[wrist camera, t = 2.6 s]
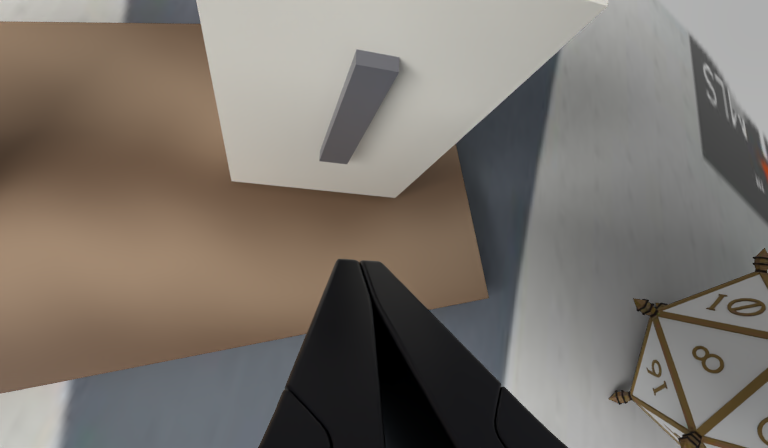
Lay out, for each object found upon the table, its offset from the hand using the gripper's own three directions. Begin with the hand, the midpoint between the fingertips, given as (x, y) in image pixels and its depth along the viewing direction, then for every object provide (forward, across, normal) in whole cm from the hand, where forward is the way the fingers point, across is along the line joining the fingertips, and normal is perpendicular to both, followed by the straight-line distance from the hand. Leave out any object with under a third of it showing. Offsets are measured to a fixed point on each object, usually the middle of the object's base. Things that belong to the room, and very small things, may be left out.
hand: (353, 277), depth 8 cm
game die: (+4, -16, +8) cm, 19 cm away
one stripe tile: (+9, 0, +2) cm, 9 cm away
